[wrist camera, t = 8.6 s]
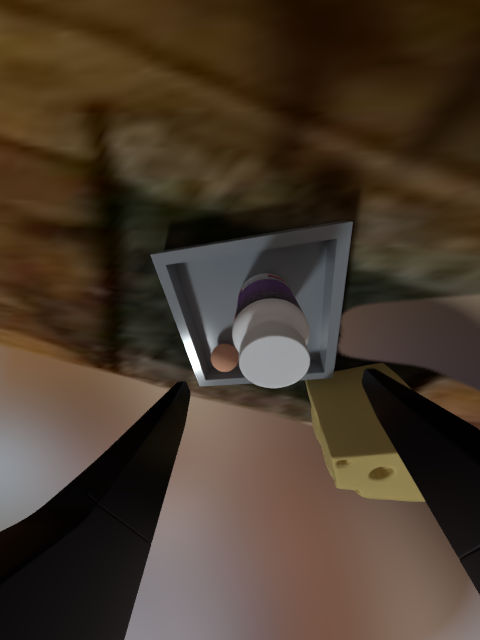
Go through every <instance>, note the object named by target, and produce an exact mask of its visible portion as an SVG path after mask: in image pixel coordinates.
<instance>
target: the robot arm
mask: <svg viewBox="0 0 480 640" xmlns="http://www.w3.org/2000/svg"><path fill="white" fill-rule="evenodd" d="M362 386H363V388H364V390H365V393H366V395H367V397H368V399H369V401H370V404H371V406H372V408H373V410H374V412H375V414H376V417H377V418H378V420H379V422H380V424H381V426H382V427H383V429H384V431H385V432H386V434H387V436H388V438H389V439H390V441H391V443H392V444H393V446H394V448H395V450H396V451H397V453H398V455H399V457H400V458H401V460H402V462H403V463H404V465H405V467H406V469H407V470H408V472H409V474H410V475H411V477H412V479H413V481H414V482H415V484H416V486H417V487H418V489H419V491H420V493H421V494H422V496H423V498H424V499H425V501H426V503H427V505H428V506H429V508H430V510H431V512H432V513H433V515H434V517H435V518H436V520H437V521H438V524H439V525H440V527H441V529H442V530H443V532H444V534H445V536H446V537H447V539H448V541H449V542H450V544H451V546H452V548H453V549H454V551H455V553H456V554H457V556H458V558H460V562H461V563H462V565H463V567H464V569H465V570H466V572H467V574H468V575H469V577H470V579H471V581H472V582H473V584H474V586H475V588H476V589H477V591H478V593H479V594H480V430H479V429H478V428H476V427H475V426H473V425H471V424H470V423H468V422H466V421H464V420H463V419H461V418H459V417H458V416H456V415H454V414H452V413H451V412H449V411H447V410H446V409H444V408H442V407H440V406H439V405H437V404H435V403H434V402H432V401H430V400H428V399H427V398H425V397H423V396H422V395H420V394H418V393H416V392H415V391H413V390H411V389H410V388H408V387H406V386H404V385H403V384H401V383H399V382H398V381H396V380H394V379H392V378H391V377H389V376H387V375H386V374H384V373H382V372H380V371H379V370H377V369H375V368H368V369H365V370H364V372H363V377H362ZM189 401H190V390H189V388H188V385H187V383H186V382H185V381H181V382H177V383H176V384H175V385H174V386H173V387H172V388H171V389H170V390H169V391H168V392H167V393H166V394H165V395H164V396H163V397H162V398H161V399H159V400H158V401H157V402H156V404H154V405H153V406H152V407H151V408H150V409H149V410H148V411H147V412H146V413H145V414H144V415H143V416H142V417H141V418H140V419H139V420H138V421H137V422H136V423H135V424H134V425H133V426H132V427H130V428H129V429H128V430H127V431H126V432H125V433H124V434H123V435H122V436H121V437H120V438H119V439H118V440H117V441H116V442H115V443H114V444H113V445H112V446H111V447H110V448H109V449H108V450H107V451H105V452H104V453H103V454H102V455H101V456H100V457H99V458H98V459H97V460H96V461H95V462H94V463H92V464H91V465H90V466H89V467H88V468H87V469H86V470H84V471H83V472H82V473H81V474H80V475H79V476H77V477H76V478H75V479H74V480H73V481H72V482H71V483H69V484H68V485H67V486H66V487H65V488H64V489H63V490H61V491H60V492H59V493H58V494H57V495H55V496H54V497H53V498H52V499H51V500H50V501H48V502H47V503H46V504H45V505H44V506H42V507H41V508H40V509H39V510H37V511H36V512H35V513H33V514H32V515H30V516H29V517H27V518H25V519H24V520H22V521H20V522H19V523H17V524H15V525H13V526H11V527H9V528H7V529H5V530H3V531H1V532H0V640H124V638H125V635H126V631H127V628H128V624H129V621H130V617H131V614H132V610H133V606H134V603H135V599H136V596H137V593H138V589H139V585H140V582H141V579H142V575H143V571H144V568H145V565H146V561H147V557H148V554H149V551H150V547H151V542H152V540H153V536H154V532H155V529H156V526H157V522H158V518H159V515H160V511H161V508H162V504H163V501H164V497H165V494H166V490H167V486H168V483H169V480H170V476H171V473H172V469H173V465H174V462H175V459H176V455H177V452H178V448H179V445H180V441H181V437H182V434H183V431H184V427H185V422H186V417H187V412H188V406H189Z"/></svg>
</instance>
